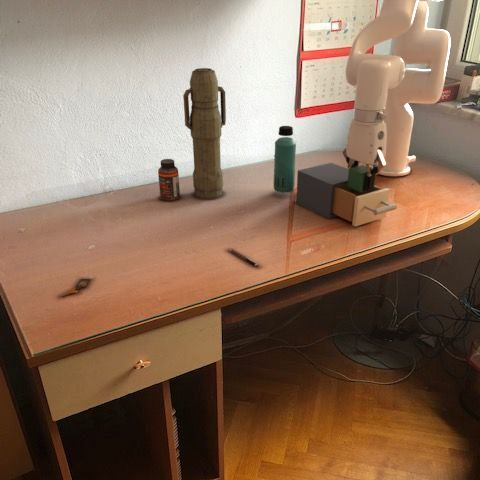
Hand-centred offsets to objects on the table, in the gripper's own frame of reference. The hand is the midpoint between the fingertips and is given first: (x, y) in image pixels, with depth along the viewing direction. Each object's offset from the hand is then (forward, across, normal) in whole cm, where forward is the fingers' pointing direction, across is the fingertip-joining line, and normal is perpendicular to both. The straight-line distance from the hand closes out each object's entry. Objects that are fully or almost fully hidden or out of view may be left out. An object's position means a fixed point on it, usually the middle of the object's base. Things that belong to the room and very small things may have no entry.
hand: (360, 185), depth 142 cm
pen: (+9, -3, +39) cm, 40 cm away
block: (0, 0, 0) cm, 0 cm away
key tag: (+9, +6, +77) cm, 78 cm away
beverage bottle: (+9, +26, +5) cm, 29 cm away
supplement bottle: (+9, +43, +35) cm, 57 cm away
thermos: (+9, +39, +24) cm, 47 cm away
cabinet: (+9, +11, 0) cm, 15 cm away
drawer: (+8, -1, 0) cm, 8 cm away
